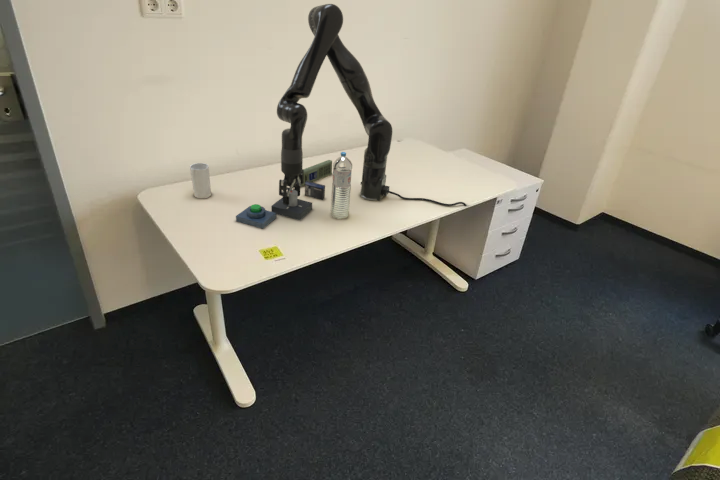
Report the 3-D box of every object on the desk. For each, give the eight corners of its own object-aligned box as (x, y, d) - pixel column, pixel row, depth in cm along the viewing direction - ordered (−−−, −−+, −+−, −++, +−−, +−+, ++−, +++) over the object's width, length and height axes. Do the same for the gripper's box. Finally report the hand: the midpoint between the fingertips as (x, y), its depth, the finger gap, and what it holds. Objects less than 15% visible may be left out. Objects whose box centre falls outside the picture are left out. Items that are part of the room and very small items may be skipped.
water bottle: (341, 221, 158) (346, 157, 145) (326, 215, 161) (329, 152, 148) (351, 214, 163) (356, 152, 150) (337, 209, 166) (340, 147, 153)
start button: (263, 209, 153) (262, 205, 152) (257, 214, 150) (257, 209, 150) (254, 207, 154) (254, 203, 153) (248, 211, 151) (248, 207, 150)
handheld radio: (333, 175, 194) (294, 191, 176) (327, 173, 196) (288, 189, 178) (333, 161, 191) (293, 176, 173) (327, 159, 192) (287, 174, 175)
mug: (215, 195, 167) (212, 167, 161) (199, 200, 163) (195, 171, 157) (202, 186, 173) (198, 159, 167) (186, 191, 169) (182, 162, 162)
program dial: (299, 203, 161) (299, 190, 159) (294, 207, 158) (294, 194, 155) (290, 200, 162) (290, 188, 160) (284, 205, 159) (284, 192, 156)
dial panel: (312, 209, 164) (312, 202, 163) (300, 220, 156) (300, 213, 155) (284, 202, 167) (284, 195, 166) (271, 212, 159) (271, 205, 158)
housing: (276, 218, 156) (276, 208, 154) (262, 229, 149) (262, 219, 147) (250, 210, 159) (249, 201, 157) (236, 221, 152) (235, 211, 150)
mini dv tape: (304, 195, 174) (305, 182, 171) (306, 194, 175) (306, 180, 172) (322, 200, 172) (323, 186, 168) (324, 198, 173) (325, 185, 170)
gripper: (291, 168, 144) (291, 210, 153) (310, 155, 156) (309, 195, 164) (271, 163, 146) (273, 205, 155) (292, 151, 158) (292, 190, 166)
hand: (291, 200), depth 159 cm, fingers open, 8 cm apart
